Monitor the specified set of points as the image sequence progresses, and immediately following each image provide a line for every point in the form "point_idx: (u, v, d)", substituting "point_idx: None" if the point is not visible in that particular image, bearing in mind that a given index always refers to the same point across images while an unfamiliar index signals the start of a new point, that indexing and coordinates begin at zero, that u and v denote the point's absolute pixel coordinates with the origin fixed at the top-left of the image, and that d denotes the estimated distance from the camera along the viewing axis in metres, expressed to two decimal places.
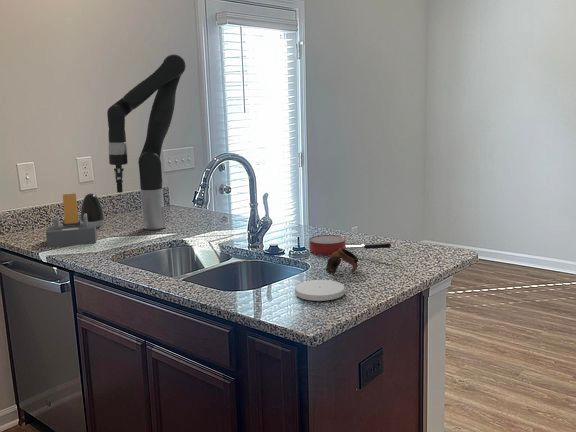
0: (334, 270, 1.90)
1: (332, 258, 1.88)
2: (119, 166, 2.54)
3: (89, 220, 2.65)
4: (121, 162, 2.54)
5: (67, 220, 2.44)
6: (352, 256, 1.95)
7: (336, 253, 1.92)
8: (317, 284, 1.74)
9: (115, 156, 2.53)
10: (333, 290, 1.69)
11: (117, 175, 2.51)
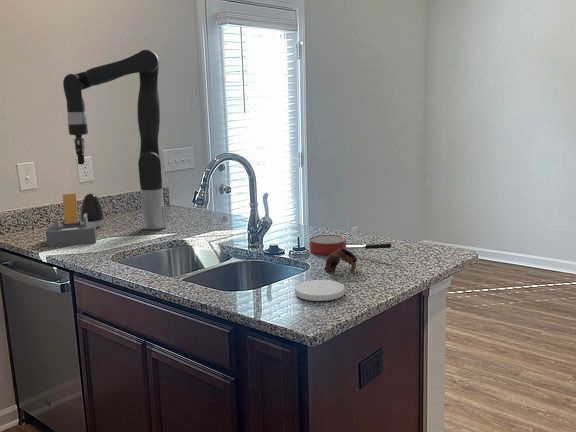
0: (333, 270, 1.90)
1: (331, 258, 1.89)
2: (79, 136, 2.51)
3: (89, 220, 2.65)
4: (80, 132, 2.51)
5: (67, 220, 2.44)
6: (351, 256, 1.96)
7: (335, 253, 1.92)
8: (317, 285, 1.74)
9: (74, 126, 2.50)
10: (333, 290, 1.69)
11: (77, 147, 2.49)
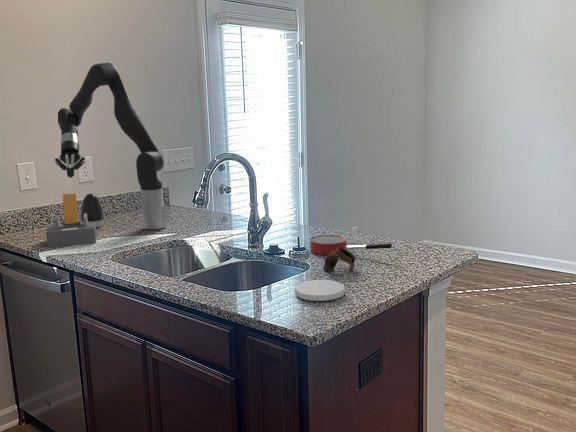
0: (331, 269, 1.91)
1: (329, 257, 1.89)
2: (61, 154, 2.63)
3: (89, 220, 2.65)
4: (61, 150, 2.64)
5: (67, 220, 2.44)
6: (349, 255, 1.96)
7: (333, 252, 1.93)
8: (317, 285, 1.74)
9: None
10: (333, 290, 1.69)
11: (59, 165, 2.61)
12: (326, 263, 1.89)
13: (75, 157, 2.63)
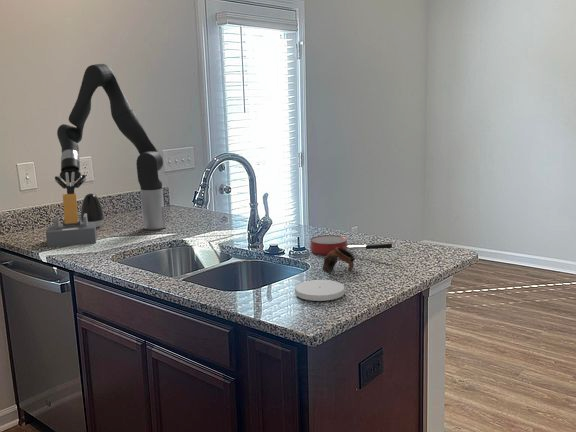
0: (331, 269, 1.91)
1: (329, 257, 1.89)
2: (61, 172, 2.57)
3: (89, 220, 2.65)
4: (61, 168, 2.57)
5: (67, 220, 2.44)
6: (348, 255, 1.97)
7: (333, 252, 1.93)
8: (317, 284, 1.74)
9: None
10: (333, 290, 1.69)
11: (59, 184, 2.55)
12: (325, 263, 1.89)
13: (75, 175, 2.57)
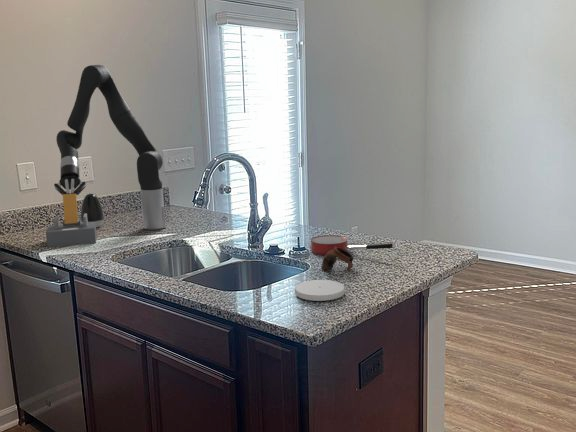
0: (330, 269, 1.92)
1: (328, 257, 1.90)
2: (60, 179, 2.54)
3: (89, 220, 2.65)
4: None
5: (67, 220, 2.44)
6: (347, 255, 1.97)
7: (331, 252, 1.94)
8: (317, 284, 1.74)
9: None
10: (333, 290, 1.69)
11: (58, 191, 2.51)
12: (324, 262, 1.90)
13: (75, 182, 2.53)
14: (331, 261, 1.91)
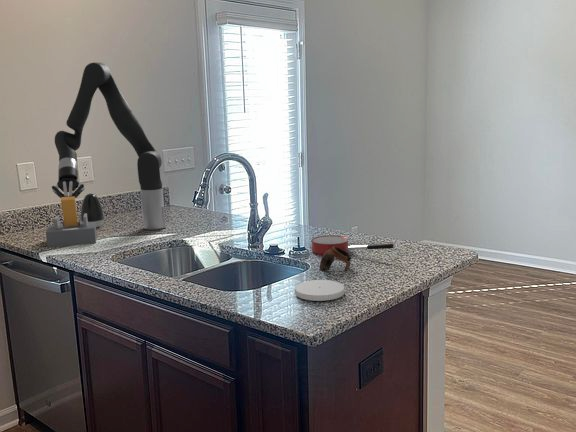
0: (328, 268, 1.92)
1: (326, 256, 1.90)
2: (58, 181, 2.47)
3: (89, 220, 2.65)
4: (58, 177, 2.47)
5: (67, 223, 2.43)
6: (345, 254, 1.98)
7: (329, 251, 1.94)
8: (316, 285, 1.74)
9: None
10: (332, 290, 1.69)
11: (56, 193, 2.44)
12: (322, 262, 1.91)
13: (73, 184, 2.46)
14: (329, 260, 1.92)
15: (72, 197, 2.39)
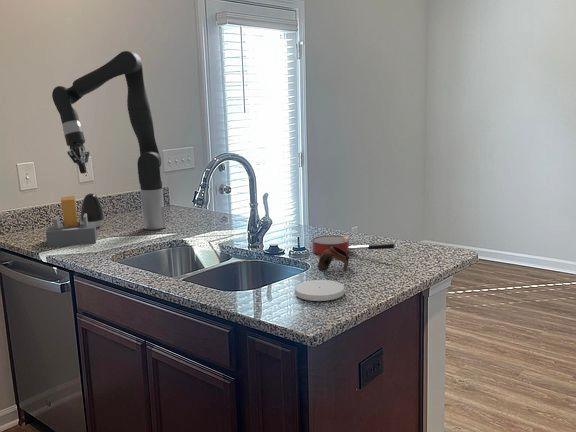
0: (326, 267, 1.93)
1: (324, 256, 1.91)
2: (72, 144, 2.52)
3: (89, 220, 2.65)
4: (73, 140, 2.52)
5: (67, 223, 2.43)
6: (343, 253, 1.99)
7: (328, 251, 1.95)
8: (316, 285, 1.74)
9: (67, 135, 2.52)
10: (332, 290, 1.69)
11: (72, 157, 2.51)
12: (321, 261, 1.91)
13: None
14: (327, 260, 1.92)
15: (72, 197, 2.39)
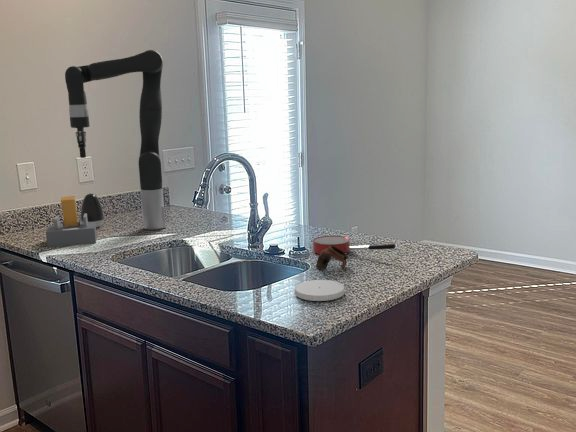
0: (324, 267, 1.94)
1: (322, 255, 1.92)
2: (80, 129, 2.50)
3: (89, 220, 2.65)
4: (82, 125, 2.50)
5: (67, 223, 2.43)
6: (341, 253, 1.99)
7: (326, 250, 1.96)
8: (316, 285, 1.74)
9: (76, 119, 2.49)
10: (332, 290, 1.68)
11: (79, 142, 2.50)
12: (319, 261, 1.92)
13: None
14: (326, 259, 1.93)
15: (72, 197, 2.39)
